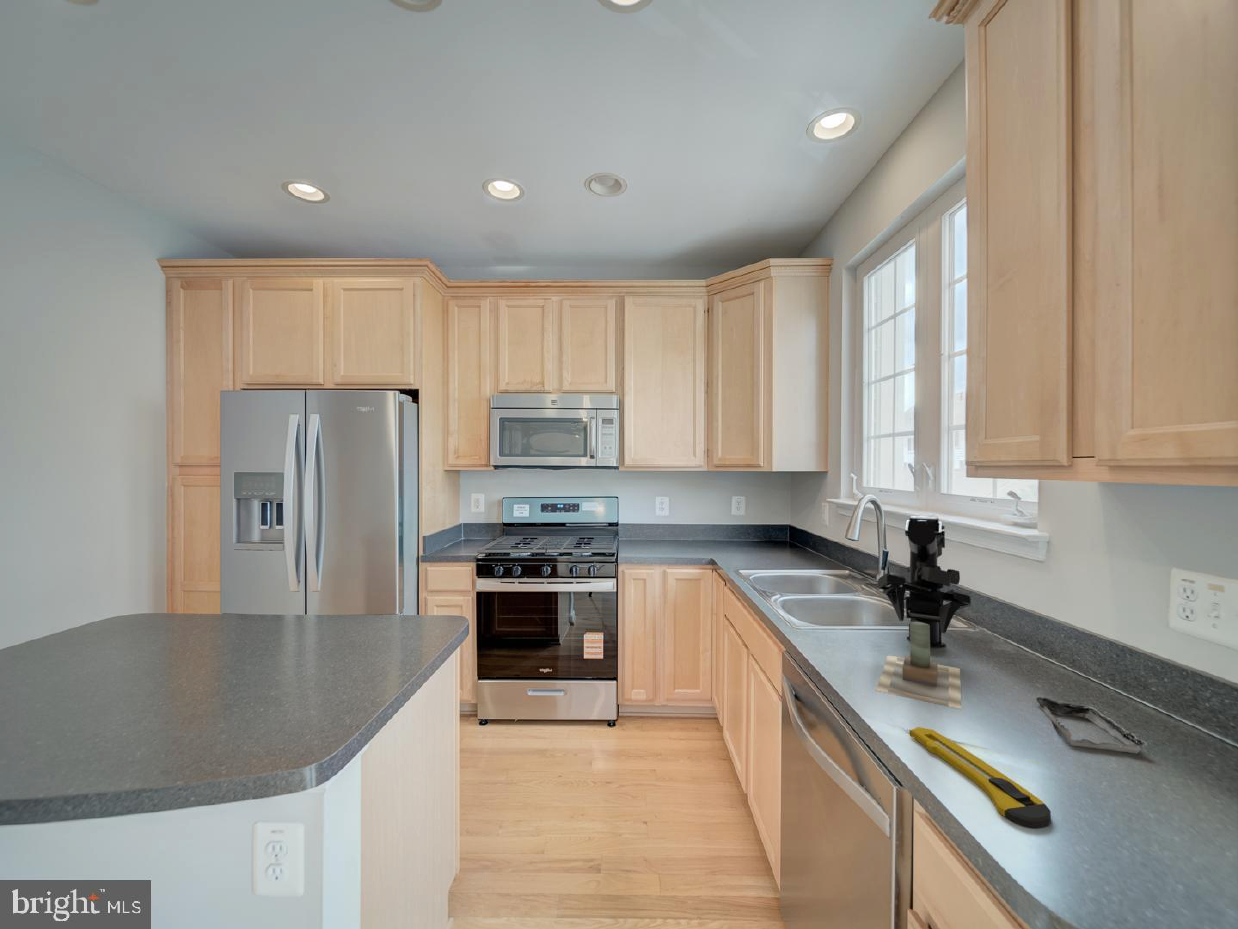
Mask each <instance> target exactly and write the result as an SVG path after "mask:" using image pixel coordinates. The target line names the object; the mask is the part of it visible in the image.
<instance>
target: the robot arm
mask: <svg viewBox="0 0 1238 929" xmlns="http://www.w3.org/2000/svg"><path fill="white" fill-rule="evenodd" d="M939 520H940V519H939V517H938V516H935V514H933V515H931V514H919V515H916V516H915V515H914V516H912V515H911V516H909V520H908V519H907V520H906V522H905V530H904V534H905V537H907V539H908V540H907V541H908V546H909V550H910V553H909V554H910V555H909V566H908V567H907V568H906V569H907V570H906V571H907V573H909V580H908V581H909V582H908V581H906V577H905V576H904V575H901V574H898V573H894V572H890V571H889V572H887V573H886V574H884V575H882V576H880V577H879V578H878V579H877V589H879V590H882V593H883V594H885V595H886V596H887V598H888V600H889V602H890V603H891V605H892V607H893V609H894V611H895V613H896V616H897V618H898V621H900V622H903V621H904V618H905V614H906V619H910V622H922V623H926V624H928V625H930V648H931V647H933V648H934V647H947V644H946V642H943V641H942V638H943V637H942V634H946V632H947V630H948V628H949V626H950V623H951V622H952V619H953V617H954V615H955V614H956V612H957V611H961V610H962V609H965V608H967V607H971V606H972V597H971V596H970V594H969V593H968V592H964V591H960V590H957V589H953V588H952V589H950V590H948V591H946V592H944V591H942V590H941V589H942V588H944V586H946V587H949V588H950V587H951V585H959V583H960V580H961V575H960V571H959V570H955V569H951V568H948V569H947V570H943V569H942V568H941V566H940V565H938V558H940V557H941V556H942V555H943V549H945V548H946V537H945V536H946V535H945V532H946V528H945V525H944V523H942V522H943V521H939ZM906 591H907V592H908V594H906ZM905 594H906V595H905ZM905 608H906V609H905ZM905 610H906V611H905ZM905 612H906V613H905ZM910 622H909V623H908V636H906V639H907V640H908V641H910Z"/></svg>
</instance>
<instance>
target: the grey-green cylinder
mask: <svg viewBox="0 0 1238 929" xmlns="http://www.w3.org/2000/svg"><path fill="white" fill-rule="evenodd" d="M909 623H910V640H909V647H910V648H909V650H910V652H909V654H910V655H909V656H908V655H905V656H904V658H905V659H904V663H903V668H902V672H903V680H906V681H911V682H916V683H921V684H926V685H930V686H935V687H937V674H938V666H937V664H938V661H937V660H931V647H930V625H928V624H926V623H922V622H909Z"/></svg>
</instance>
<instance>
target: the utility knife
mask: <svg viewBox="0 0 1238 929" xmlns="http://www.w3.org/2000/svg"><path fill="white" fill-rule="evenodd" d="M909 736H910V737H912V738H913V737H914V738H913V739H914V740H916V741H918V742H919V743H920V744H921V745H922V746H924V747H925V748H926V750H927V751H928V752H929V753H931V754H934V755H937V756H938V757H939V758H941V759H943V760H944V761H945V762H947V763H948V764H949V765H950V766H952V767H953V768H954V769H956V770H957V771H959V772H960V773H961V774H963V775H964V776H965V777H967V778H968V779H970V780H971V781H972V782H974V783H975V784H976V785H977V786H978V787H979V788H980V789H982V791H984V793H986V795H987V796H988V797H989V798H990V800H991V801H992V803H993V806H995V808H996V810H997V812H998V814H999V815H1001V816H1003V817H1004V818H1005V819H1007V820H1009V821H1010V822H1012V823H1014V824H1015V825H1019V826H1022V827H1025V828H1030V829H1041V828H1045V827H1049V826H1050V825H1051V821H1052V819H1051V818H1052V817H1051V816H1052V815H1051V810H1050V809H1049V807H1048V806H1047V804H1045V802H1044V801H1043V800H1041V799H1040V798H1038V797H1037V796H1036V795H1034V794H1033V793H1032V792H1030V791H1029V790H1028V789H1026V788H1024V787H1023V786H1021V785H1020V784H1019V783H1017V782H1016V781H1014V780H1013V779H1011V778H1009V777H1008V776H1007V775H1005V774H1004V773H1002V772H1000V771H999V770H997V769H996V768H994V767H993V766H992V765H990V764H988V763H987V762H985V761H984V760H982V759H981V758H979V757H978V756H976V755H974V754H973V753H971V752H970V751H969V750H967V749H965V748H964V747H962V746H961V745H959V744H957V743H956V742H954V741H952V740H951V739H949V738H948V737H946V736H944V735H942V734H940V733H939V732H938V731H936V730H934V729H932V728H925V727H920V726H918V727H915V728H912V729H910V730H909Z"/></svg>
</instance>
